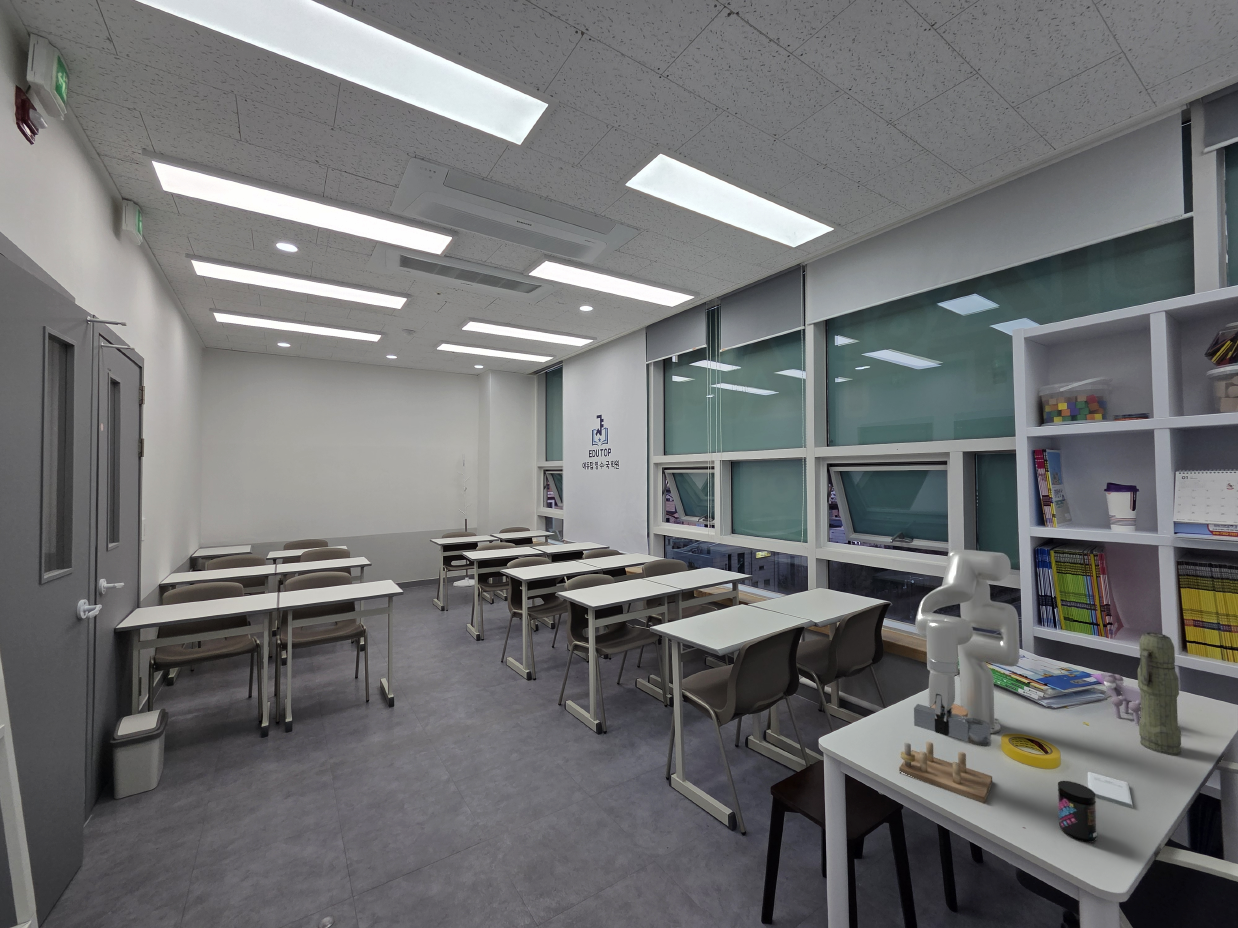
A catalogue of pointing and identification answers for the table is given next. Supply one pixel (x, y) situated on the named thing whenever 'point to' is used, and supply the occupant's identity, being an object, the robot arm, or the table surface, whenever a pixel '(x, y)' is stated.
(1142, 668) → the moai statue
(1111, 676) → the purple toy animal
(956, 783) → the rack
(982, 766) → the table surface
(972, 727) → the grey long block
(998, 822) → the table surface
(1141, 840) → the table surface
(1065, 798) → the supplement container
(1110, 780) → the external hard drive
